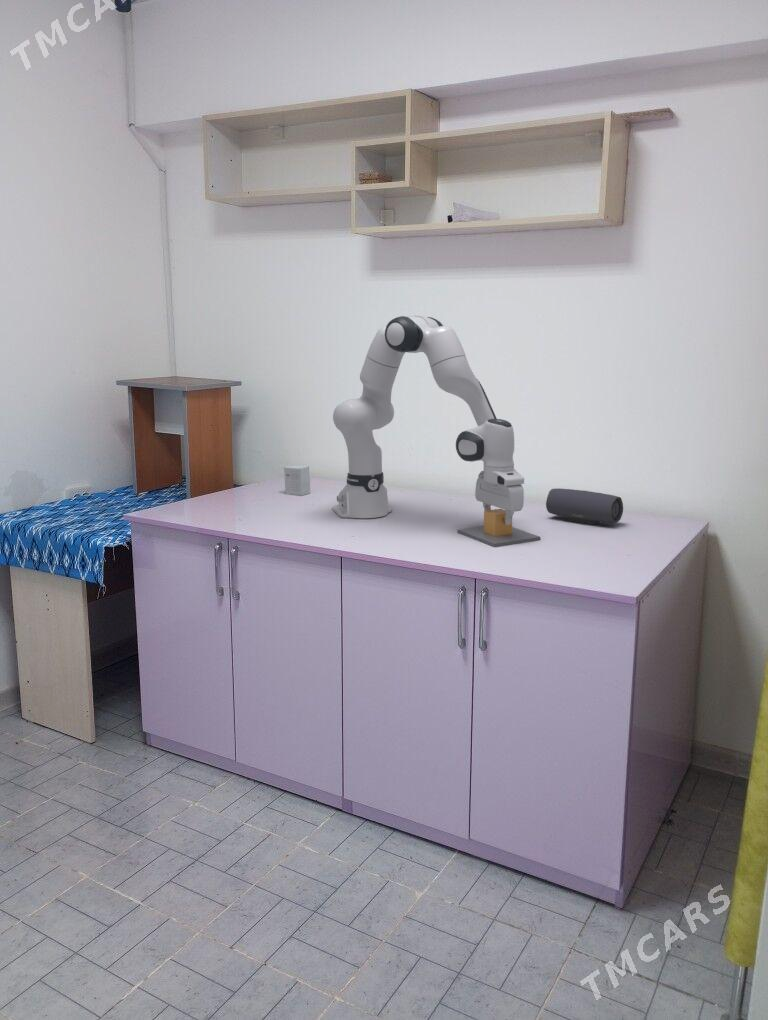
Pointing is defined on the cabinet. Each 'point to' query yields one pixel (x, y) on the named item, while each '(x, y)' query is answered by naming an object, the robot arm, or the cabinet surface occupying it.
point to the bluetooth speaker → (585, 506)
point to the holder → (497, 541)
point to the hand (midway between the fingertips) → (497, 520)
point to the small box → (297, 480)
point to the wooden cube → (496, 523)
